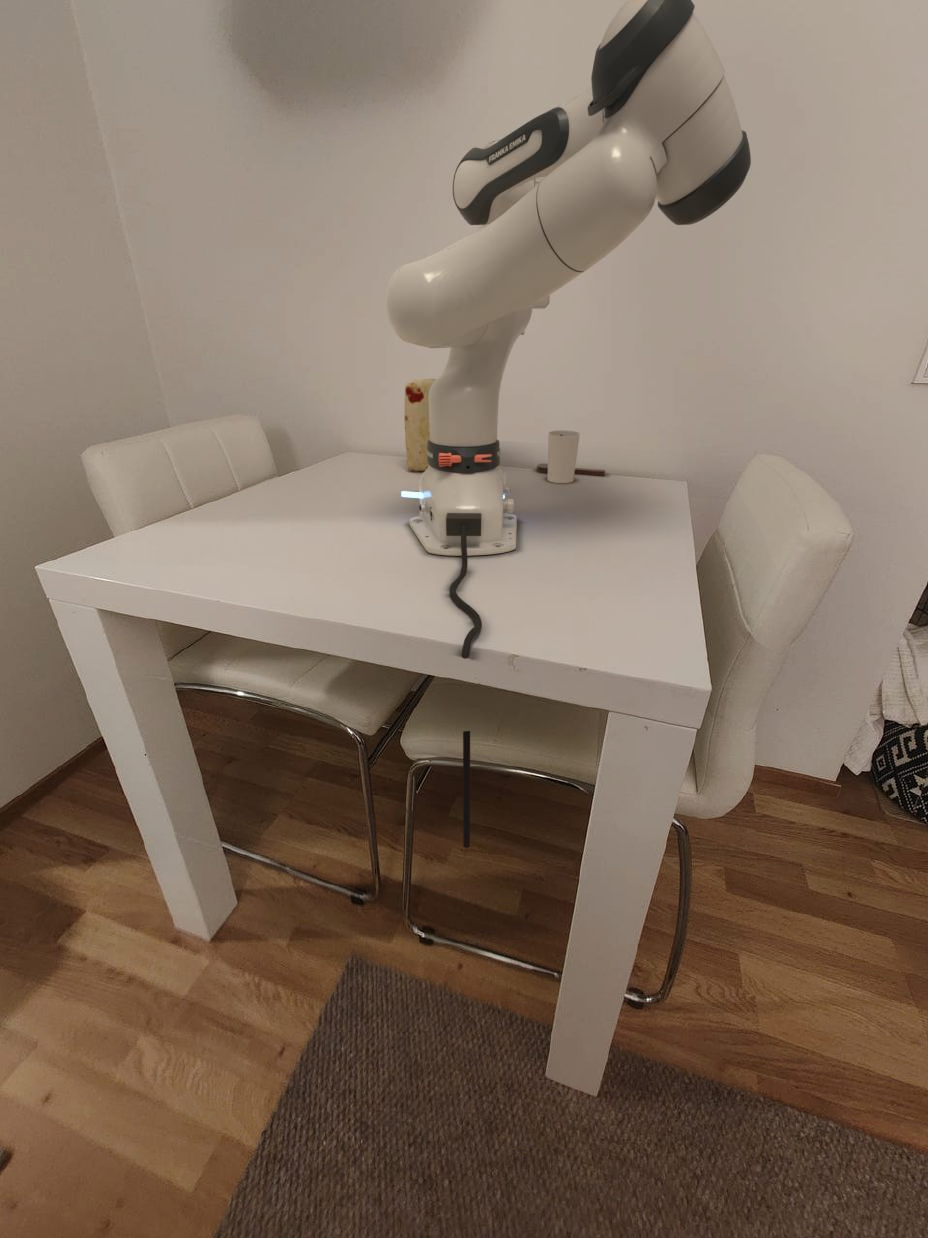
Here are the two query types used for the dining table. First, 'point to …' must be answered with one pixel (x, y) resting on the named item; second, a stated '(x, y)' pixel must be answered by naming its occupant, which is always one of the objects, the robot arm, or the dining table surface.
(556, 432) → the white cup
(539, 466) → the wooden spoon
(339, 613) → the dining table surface
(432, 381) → the food model
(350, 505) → the dining table surface
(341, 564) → the dining table surface
